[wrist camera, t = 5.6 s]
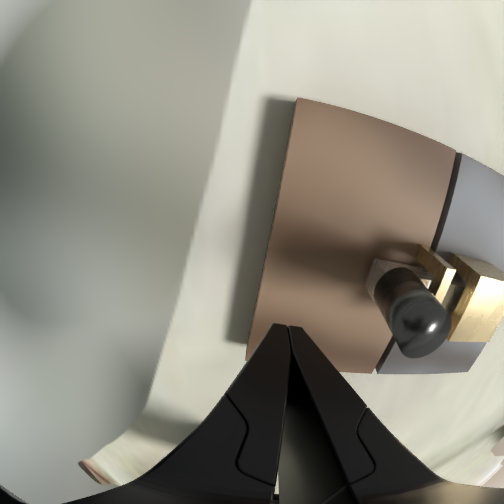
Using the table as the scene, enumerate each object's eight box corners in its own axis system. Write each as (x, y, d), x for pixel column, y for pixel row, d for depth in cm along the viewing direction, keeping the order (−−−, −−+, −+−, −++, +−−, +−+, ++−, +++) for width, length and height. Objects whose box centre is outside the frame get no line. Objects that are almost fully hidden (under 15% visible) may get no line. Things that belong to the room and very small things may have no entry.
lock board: (460, 360, 18) (467, 371, 17) (247, 345, 18) (245, 360, 17) (531, 197, 13) (543, 203, 11) (295, 101, 13) (297, 97, 11)
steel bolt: (463, 306, 14) (504, 356, 9) (358, 291, 14) (389, 357, 9) (478, 273, 13) (526, 318, 9) (373, 249, 13) (416, 306, 9)
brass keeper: (467, 315, 15) (488, 342, 12) (394, 306, 15) (413, 339, 12) (490, 263, 13) (518, 285, 10) (418, 243, 13) (447, 268, 10)
